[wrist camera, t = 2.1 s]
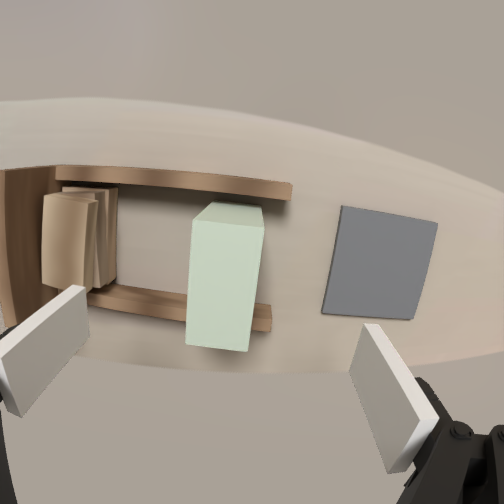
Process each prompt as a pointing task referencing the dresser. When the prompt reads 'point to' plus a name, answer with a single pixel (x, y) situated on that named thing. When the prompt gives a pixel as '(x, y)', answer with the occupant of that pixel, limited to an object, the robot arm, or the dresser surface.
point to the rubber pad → (378, 264)
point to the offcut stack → (79, 237)
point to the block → (223, 275)
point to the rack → (108, 296)
